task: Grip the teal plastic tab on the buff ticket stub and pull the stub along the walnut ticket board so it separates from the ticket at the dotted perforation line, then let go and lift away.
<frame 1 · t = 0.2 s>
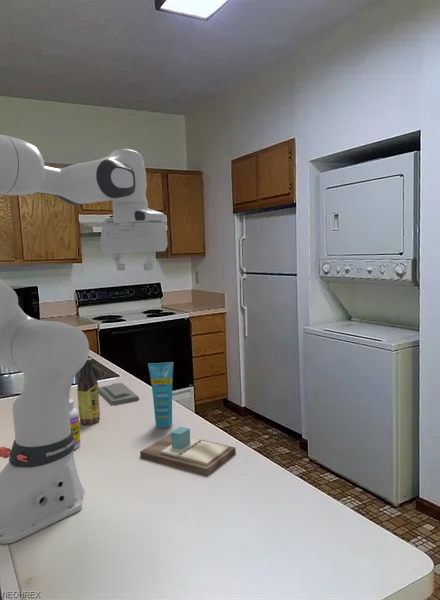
hand: (134, 270, 120), 47 cm above the countertop, fingers open, 8 cm apart
sauce bottle: (90, 422, 145), on the countertop
soap mold: (117, 397, 169), on the countertop
ticket stub: (180, 438, 119), point 4 cm above the countertop, slide at 0.0 cm
supplement bottle: (68, 447, 126), on the countertop
ticket board: (188, 455, 118), on the countertop
tube: (164, 425, 139), on the countertop
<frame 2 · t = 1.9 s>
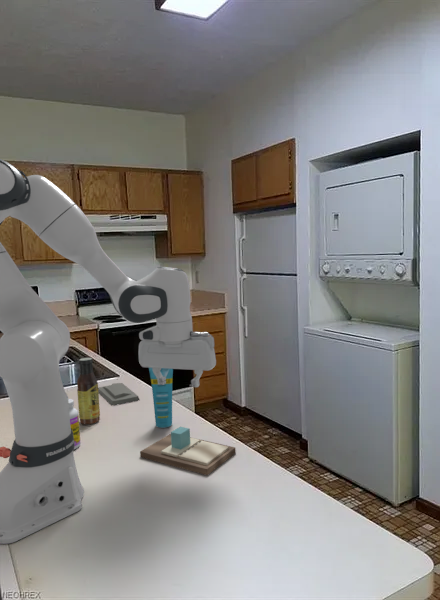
hand: (178, 385, 117), 18 cm above the countertop, fingers open, 8 cm apart
nothing on the countertop moved.
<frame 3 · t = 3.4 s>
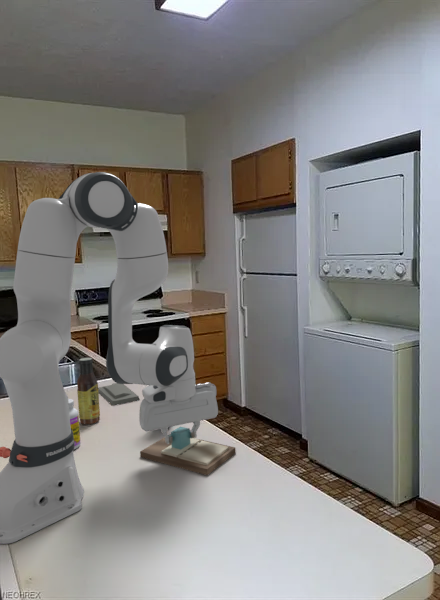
hand: (181, 440, 119), 4 cm above the countertop, fingers closed on ticket stub, 5 cm apart
ticket stub: (180, 438, 119), point 4 cm above the countertop, slide at 0.0 cm, touching gripper
everything else where it was.
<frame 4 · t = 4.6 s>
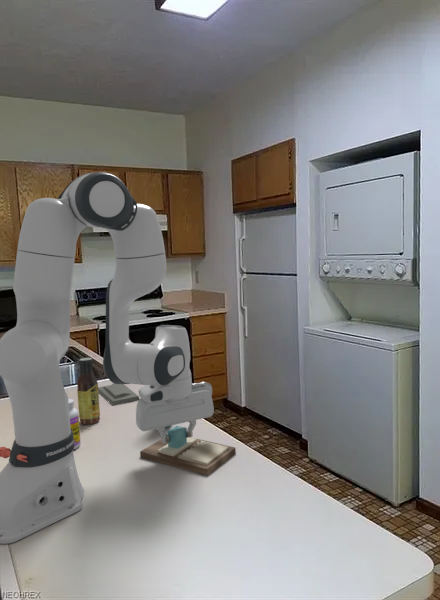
hand: (177, 439, 120), 4 cm above the countertop, fingers closed on ticket stub, 5 cm apart
ticket stub: (177, 438, 120), point 4 cm above the countertop, slide at 1.1 cm, touching gripper
everything else where it was.
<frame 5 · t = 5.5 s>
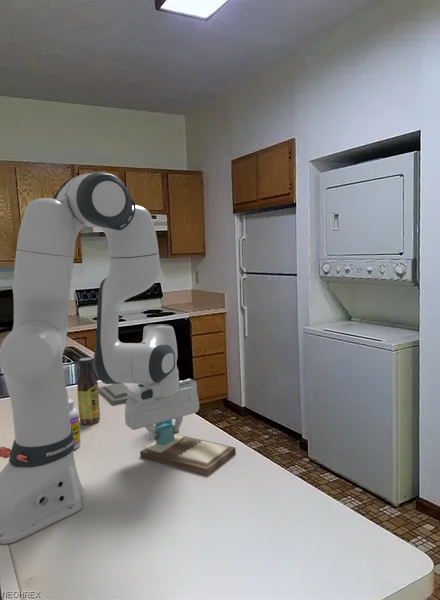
hand: (165, 436, 122), 4 cm above the countertop, fingers closed on ticket stub, 5 cm apart
ticket stub: (164, 435, 122), point 4 cm above the countertop, slide at 5.2 cm, touching gripper
everything else where it was.
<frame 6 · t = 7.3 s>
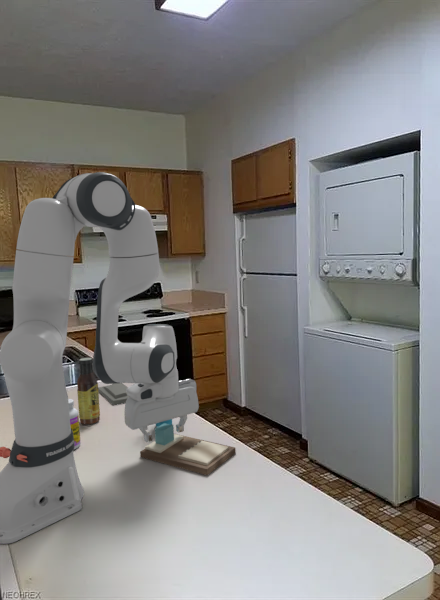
hand: (164, 436, 122), 4 cm above the countertop, fingers open, 8 cm apart
ticket stub: (164, 435, 122), point 4 cm above the countertop, slide at 5.3 cm
everything else where it was.
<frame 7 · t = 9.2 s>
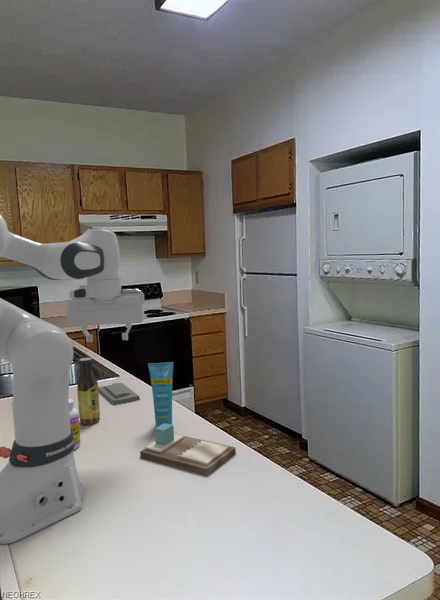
hand: (107, 340, 126), 28 cm above the countertop, fingers open, 8 cm apart
nothing on the countertop moved.
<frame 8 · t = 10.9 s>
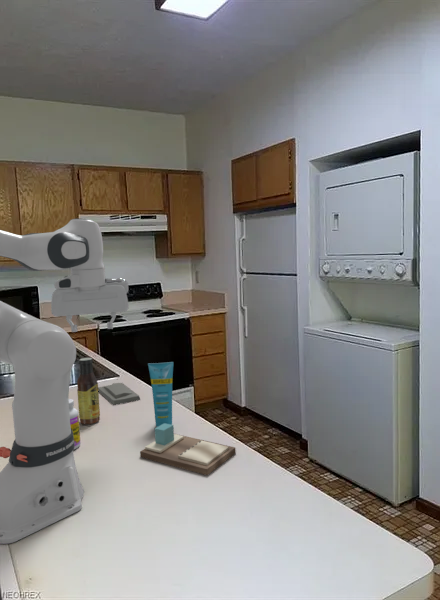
hand: (92, 330, 127), 31 cm above the countertop, fingers open, 8 cm apart
nothing on the countertop moved.
at the end: ticket stub slide at 5.3 cm; the gripper is holding nothing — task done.
